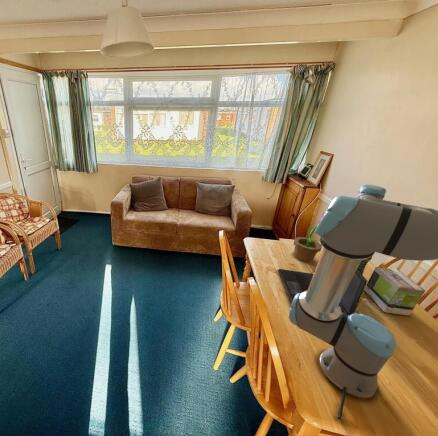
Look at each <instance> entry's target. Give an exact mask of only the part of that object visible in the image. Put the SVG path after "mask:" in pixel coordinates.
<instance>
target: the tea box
mask: <svg viewBox="0 0 438 436" xmlns="http://www.w3.org/2000/svg"><path fill="white" fill-rule="evenodd" d="M363 292H365V293H366V294H367V295H368V296H369V297H370V298H371V299H372V301H373V302H374V303H375V304H376V305H377V306H378V307H379V308H380V309H381V310H382V311H383V312H384V313H388V314H394V315H402V316H410V314H411V313H412V312H413V310H414V309H415V307H416V306H417V304H418V303H419V302H420V300H421V298H422V297H423V296H424V295H425V292H426V289H424V288H423V287H422V286H420V285H419V284H417V282H415V281H414V280H412V278H410V277H409V276H408V275H406V274H405V273H404V272H402V271H401V270H400V269H398V268H387V267H379V266H375V268H374V270H373V271H372V273H371V275H370V277H369V279H368V280H367V283H366V285H365V288H364V290H363Z"/></svg>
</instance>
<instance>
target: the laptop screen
mask: <svg viewBox="0 0 438 436" xmlns="http://www.w3.org/2000/svg"><path fill="white" fill-rule="evenodd" d="M367 282H368V280H367V278H366V277H365V276H364V274H363V275H362V274H361V273H360V272H359V271H358V270H356V272H355V274H354V276H353V278H352V280H351V282H350V284H349V285H348V287H347V289H346V291H345V293H344V295H343V297H342V299H341V301H340V303H339V304H340V305H341V307H342V308H343V310H344V311H345V313H346V314H347V315H349V316H350V315H352V314H355V313H356V310H357V307H358V306H359V305H358V304H359V303H360V300H361V297H362V295H363V292H364V288H365V286H366V284H367Z"/></svg>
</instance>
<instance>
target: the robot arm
mask: <svg viewBox="0 0 438 436" xmlns="http://www.w3.org/2000/svg"><path fill="white" fill-rule="evenodd" d="M386 193H387V189H386V188H385V187H383V186H379V185H375V184H363V185H362V186H361V187H360V189H359V190H358V191H357V195H356V197H355V196H349V195H348V196H347V195H338V196H335V197H334V198H333V199H332V201H331V202H330V204H329V205H328V207H327V209H326V210H325V212H324V213H323V214H324V215H323V217H322V216H321V217H322V219H320V220H319V221H320V223H319V224H318V223H317V225H318V226H317V225H316V226H317V228H316V229H315V231H314V233H315V235H317V236H319V243H320V244H321V245H322V249H321V253H320V256H319V259H318V261H317V264H316V267H315V270H314V272H313V274H314V275H313V277H312V280H311V283H310V286H309V288H308V291H305V292H303V293H302V294H301V293H298V294H296V296H295V297H294V299H293V302H292V304H291V303H290V308H289V312H288V319H289V322H290V323H291V324H293V325H294V326H296V327H297V328H298V329H300V330H303V331H305V332H306V333H308V334H310V335H312V336H313V337H316V338H317V339H319V340H321V341H322V342H324V343H326V344H328V345H330V346H331V347H329V348H327V349H326V350H324V351H323V352H322V353H321V354H320V356H319V359H318V364H319V367H320V369H321V372H322V373H323V375H324V376H325V378H326V379H327V380H328V381H329V383H331V384H332V385H333V386H334V387H336V388H337V389H339V390H340V391H341V392H342V394H341V399H340V403H339V409H338V413H337V419H338V420H340V421H341V420H342V414H343V410H344V404H345V399H346V396H347V395H349V396H352V397H354V398H357V399H370V398H372V397H373V396H374V395H375V394H376V392H377V389H378V374H379V373H380V372H381V370H382V369H383V367H384V366H385V365H386V363H387V362H388V360H389V359H391V358H392V357H393V354H394V352H395V350H396V347H397V342H396V339H395V337H394V335H393V333H391V332H390V330H389V329H388V328H387V327H386V326H384V324H382V323H381V322H380V321H378V320H376V319H374V318H373V317H371V316H369V315H367V314H364V313H357V312H354V314H352V315H350V316H349V315H347V314H344V313H342V312H341V308H340V305H341V304H340V301H341V299H342V297H343V295H344V293H345V291H346V289H347V287H348V285H349V284H350V282H351V280H352V278H353V276H354V274H355V272H356V270H357V268H358V266H359V264H360V262H361V260H363V259H368V258H370V257H372V258H373V256H374V255H375V253H377V254H380V255H381V254H382V255H385V256H388V257H392V258H395V259H399V260H407V261H422V262H423V261H434V260H438V209H434V208H431V207H423V206H417V205H412V204H407V203H401V202H397V201H391V200H386V199H384V198H385V196H386ZM339 304H340V305H339ZM346 394H347V395H346Z"/></svg>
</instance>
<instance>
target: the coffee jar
mask: <svg viewBox="0 0 438 436" xmlns="http://www.w3.org/2000/svg"><path fill="white" fill-rule="evenodd" d="M372 259H373V256H372V257H370V258H368V259H363V260H361V262H360V264H359V266H358V268H357V270H358V271H359V272H360V273H361V274H362V275H363V276H364V272H365V269H366V266H367V265H368V263H369V262H370V261H372Z"/></svg>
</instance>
